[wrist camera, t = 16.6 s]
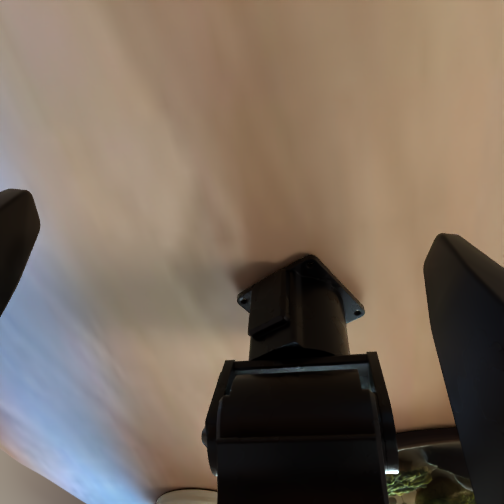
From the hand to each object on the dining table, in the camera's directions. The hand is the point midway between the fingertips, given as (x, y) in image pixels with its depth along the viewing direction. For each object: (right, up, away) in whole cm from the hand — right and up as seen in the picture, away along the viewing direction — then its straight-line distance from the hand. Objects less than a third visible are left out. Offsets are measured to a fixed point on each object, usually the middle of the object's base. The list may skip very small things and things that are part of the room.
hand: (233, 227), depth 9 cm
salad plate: (+20, -22, +34) cm, 45 cm away
